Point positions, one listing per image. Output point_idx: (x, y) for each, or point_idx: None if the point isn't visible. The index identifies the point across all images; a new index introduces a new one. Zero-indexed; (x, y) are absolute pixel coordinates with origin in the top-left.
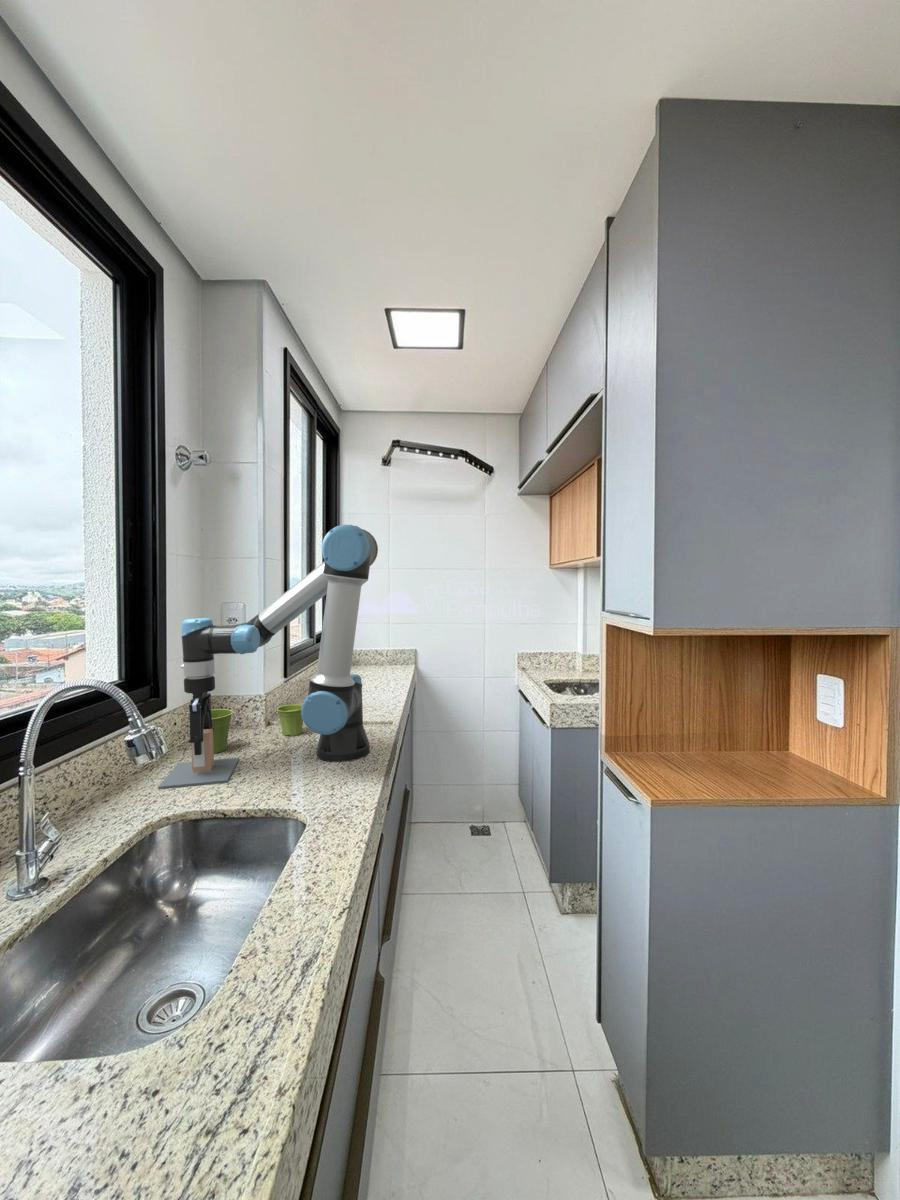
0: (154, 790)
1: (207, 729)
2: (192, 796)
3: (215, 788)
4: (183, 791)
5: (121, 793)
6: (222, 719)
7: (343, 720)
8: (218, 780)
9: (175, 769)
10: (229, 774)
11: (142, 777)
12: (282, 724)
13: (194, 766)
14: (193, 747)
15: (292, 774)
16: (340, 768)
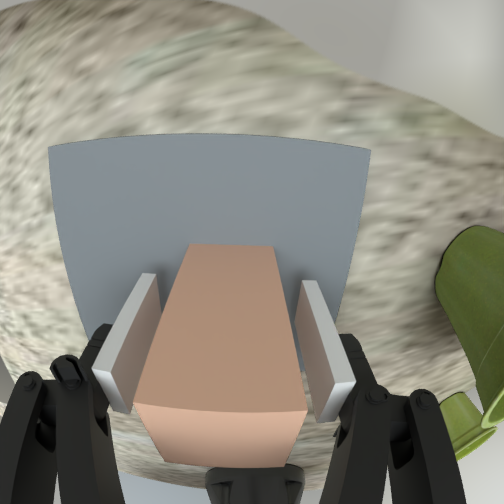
0: (48, 135)
1: (275, 456)
2: (12, 274)
3: (58, 324)
4: (34, 243)
5: (59, 27)
6: (483, 407)
7: None
8: (90, 336)
9: (263, 150)
10: None
11: (228, 16)
12: (458, 417)
13: (142, 278)
14: (104, 346)
15: (149, 437)
16: (174, 469)
